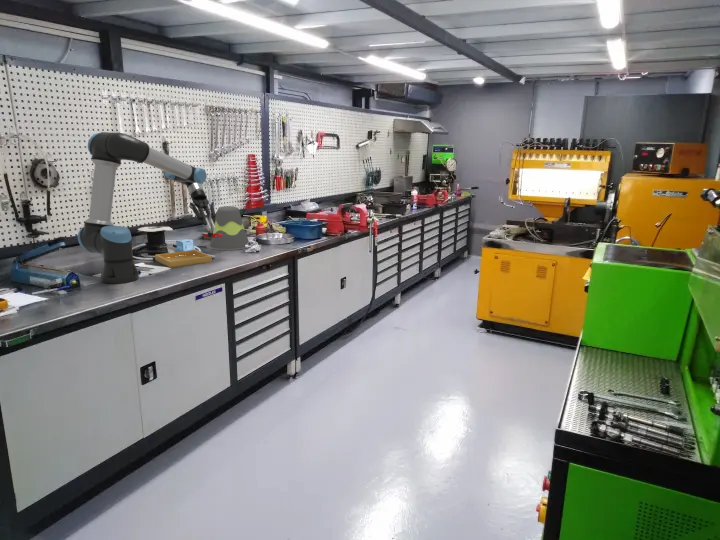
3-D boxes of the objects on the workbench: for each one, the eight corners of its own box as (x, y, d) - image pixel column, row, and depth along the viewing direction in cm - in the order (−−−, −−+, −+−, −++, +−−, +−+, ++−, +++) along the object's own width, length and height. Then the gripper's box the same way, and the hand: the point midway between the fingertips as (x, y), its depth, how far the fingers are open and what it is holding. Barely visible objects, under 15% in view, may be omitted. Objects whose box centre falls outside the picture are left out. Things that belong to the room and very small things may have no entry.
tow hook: (210, 235, 256) (202, 237, 248) (210, 211, 254) (201, 212, 245) (225, 236, 255) (217, 238, 246) (225, 212, 252) (216, 213, 243)
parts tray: (169, 268, 235) (169, 261, 234) (155, 260, 249) (154, 254, 248) (212, 262, 249) (211, 256, 248) (196, 255, 264) (195, 249, 263)
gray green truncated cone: (196, 248, 283) (194, 207, 278) (222, 240, 309) (221, 203, 304) (237, 252, 276) (236, 210, 270) (261, 243, 302) (260, 205, 296)
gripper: (208, 197, 261) (223, 232, 253) (182, 198, 251) (196, 234, 243) (212, 188, 255) (227, 224, 247) (185, 189, 246) (199, 226, 238)
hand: (211, 229), depth 245 cm, fingers closed on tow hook, 2 cm apart
